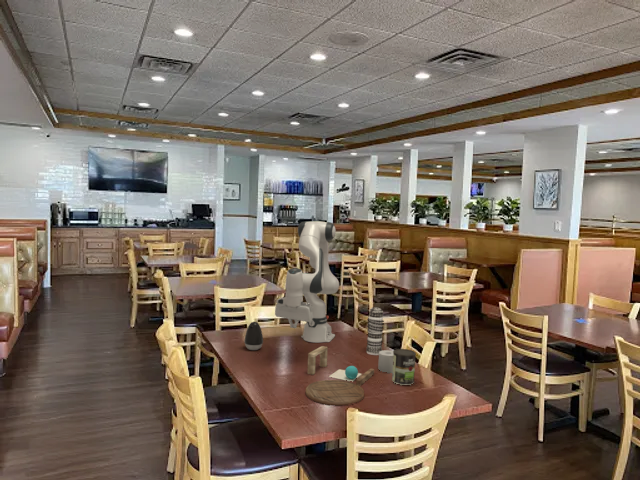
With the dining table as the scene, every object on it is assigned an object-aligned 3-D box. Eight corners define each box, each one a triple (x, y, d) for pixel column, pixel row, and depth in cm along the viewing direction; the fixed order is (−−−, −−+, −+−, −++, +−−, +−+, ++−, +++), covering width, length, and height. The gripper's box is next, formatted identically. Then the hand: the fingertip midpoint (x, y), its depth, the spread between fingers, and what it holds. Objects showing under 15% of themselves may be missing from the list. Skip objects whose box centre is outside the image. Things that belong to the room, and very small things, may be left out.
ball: (352, 378, 227) (344, 368, 228) (362, 372, 225) (354, 361, 226) (348, 383, 221) (340, 372, 222) (358, 376, 219) (350, 365, 220)
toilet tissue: (403, 375, 231) (404, 358, 230) (376, 371, 235) (376, 354, 235) (406, 369, 239) (407, 352, 239) (380, 365, 244) (381, 349, 243)
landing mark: (339, 369, 236) (339, 369, 236) (361, 374, 230) (362, 373, 230) (328, 376, 225) (328, 376, 225) (352, 381, 220) (352, 381, 219)
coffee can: (418, 384, 220) (420, 354, 219) (400, 387, 215) (402, 356, 214) (405, 376, 229) (406, 347, 228) (387, 379, 224) (388, 350, 224)
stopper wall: (370, 373, 232) (370, 368, 231) (373, 374, 231) (374, 369, 231) (355, 385, 216) (356, 379, 215) (360, 386, 215) (360, 380, 214)
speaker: (240, 350, 261) (241, 322, 260) (250, 345, 271) (251, 318, 270) (256, 352, 257) (257, 325, 256) (266, 347, 267) (267, 321, 266)
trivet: (373, 404, 196) (373, 399, 196) (314, 409, 189) (314, 404, 189) (352, 382, 220) (352, 378, 220) (299, 386, 213) (299, 381, 213)
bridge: (307, 373, 228) (308, 353, 227) (321, 364, 242) (322, 346, 241) (313, 374, 227) (313, 354, 226) (326, 366, 240) (327, 347, 240)
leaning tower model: (364, 354, 262) (366, 309, 260) (367, 349, 271) (369, 305, 269) (381, 356, 260) (383, 310, 258) (383, 351, 269) (385, 307, 267)
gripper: (315, 302, 240) (314, 329, 241) (280, 297, 249) (279, 323, 250) (309, 304, 234) (308, 332, 236) (273, 299, 243) (273, 326, 245)
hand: (293, 327), depth 243 cm, fingers closed
